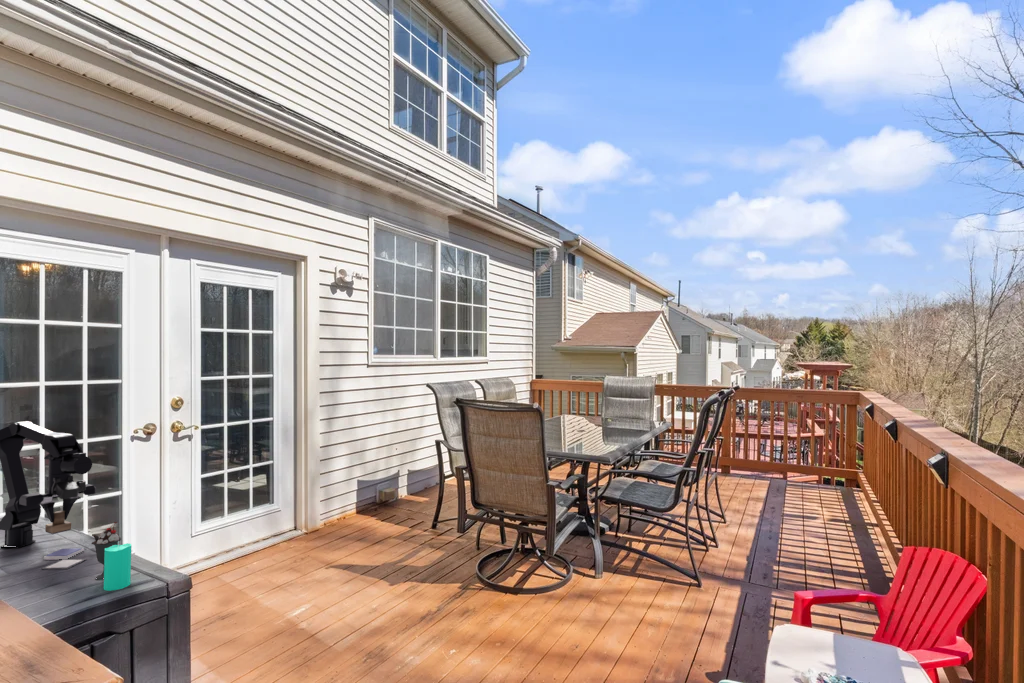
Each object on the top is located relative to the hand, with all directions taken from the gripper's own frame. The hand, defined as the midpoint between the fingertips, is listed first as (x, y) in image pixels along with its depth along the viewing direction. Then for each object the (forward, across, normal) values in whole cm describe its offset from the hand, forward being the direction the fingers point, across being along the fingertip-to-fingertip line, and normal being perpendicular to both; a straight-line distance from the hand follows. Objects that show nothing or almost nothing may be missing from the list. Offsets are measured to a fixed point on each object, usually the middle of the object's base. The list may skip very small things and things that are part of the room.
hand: (58, 521), depth 175 cm
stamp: (+3, 0, 0) cm, 3 cm away
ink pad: (+9, -2, -9) cm, 13 cm away
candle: (+10, -6, -51) cm, 52 cm away
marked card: (+9, -5, -19) cm, 21 cm away
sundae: (+10, -4, -40) cm, 42 cm away
